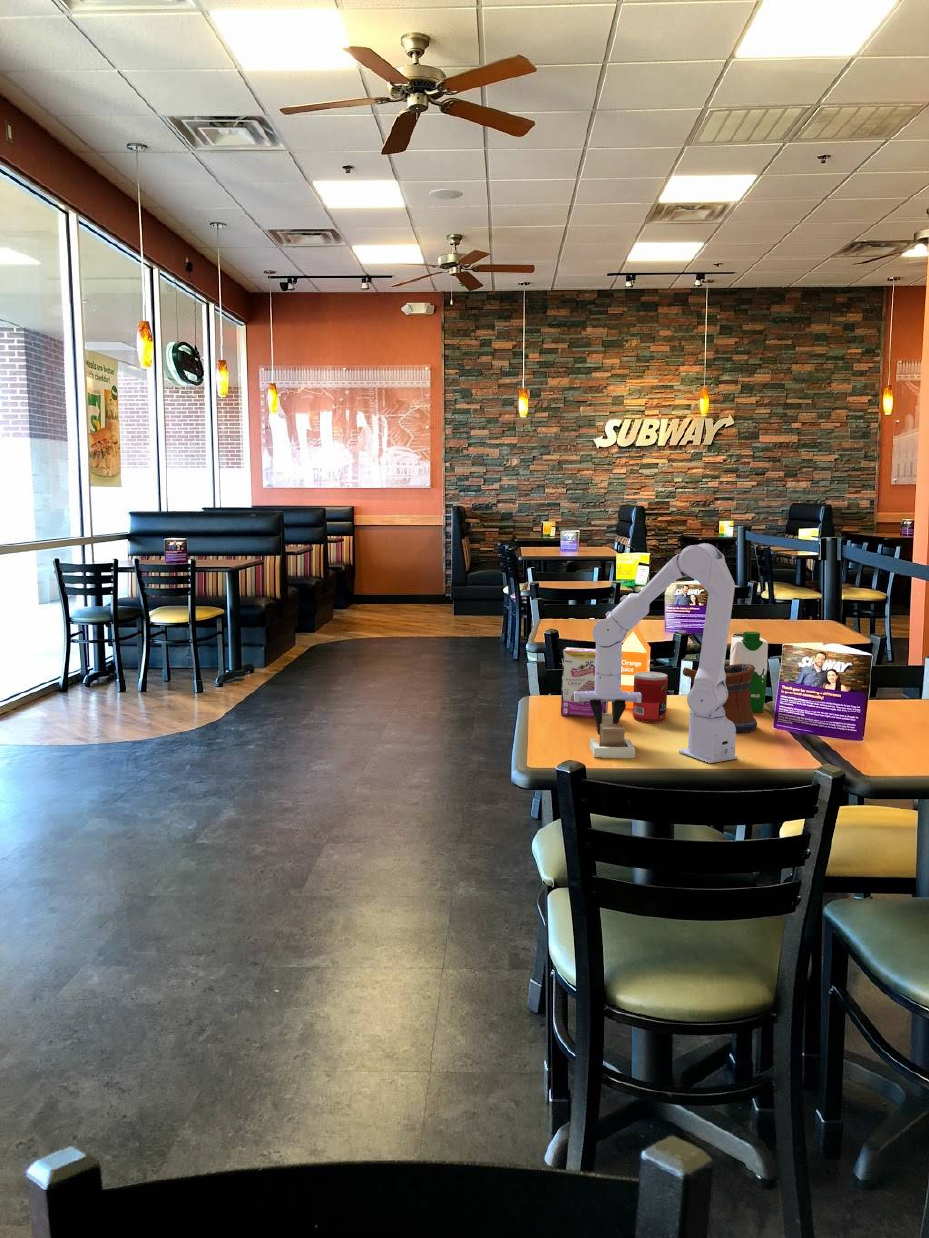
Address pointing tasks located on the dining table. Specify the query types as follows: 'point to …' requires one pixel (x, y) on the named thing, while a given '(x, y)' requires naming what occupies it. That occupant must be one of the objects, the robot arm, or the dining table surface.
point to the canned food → (650, 696)
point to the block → (611, 732)
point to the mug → (736, 695)
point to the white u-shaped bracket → (612, 750)
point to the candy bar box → (578, 681)
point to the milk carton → (753, 653)
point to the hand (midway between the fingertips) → (606, 733)
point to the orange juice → (634, 660)
